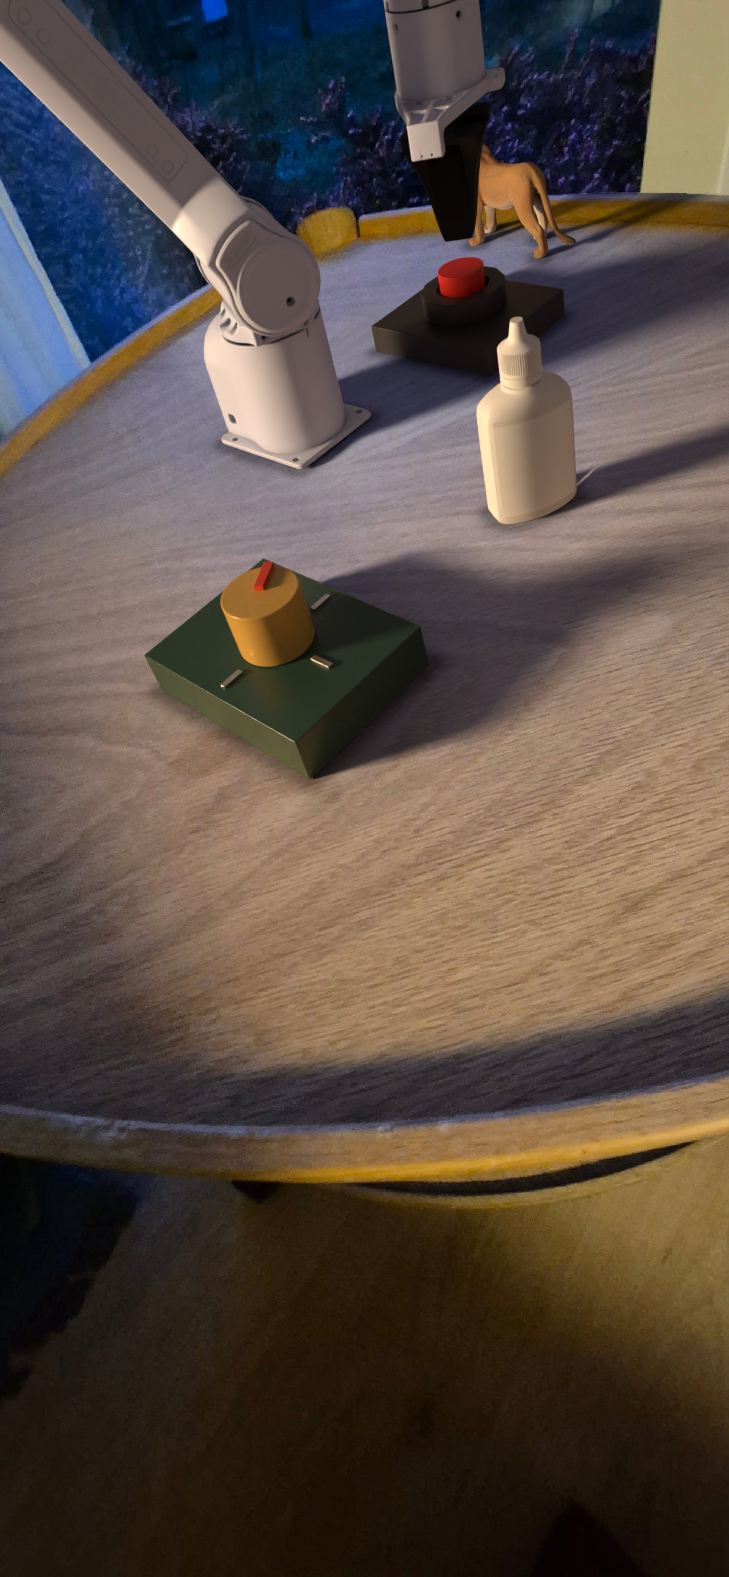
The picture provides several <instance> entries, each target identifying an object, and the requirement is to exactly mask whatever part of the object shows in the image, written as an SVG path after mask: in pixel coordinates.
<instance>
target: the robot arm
mask: <svg viewBox="0 0 729 1577" xmlns="http://www.w3.org/2000/svg"><path fill="white" fill-rule="evenodd" d="M382 1H383V6H384V13H385V14H384V15H385V20H386V28H387V34H388V41H389V42H388V43H389V47H390V54H391V60H392V66H393V67H392V68H393V73H394V74H393V75H394V81H395V87H396V90H395V94H394V100H395V101H394V102H395V107H396V111H397V112H398V114H399V115H400V117H401V119H402V120H403V122H404V124H405V125H406V128H405V129H403V132H402V134H401V136H400V137H399V142H400V148H401V151H402V154H403V156H404V157H405V158H406V159H407V162H408V163H409V164H410V166H412V168H413V169H414V171H415V173H416V174H417V176H418V177H419V180H420V182H421V184H422V185H423V187H424V190H425V192H426V195H427V197H428V200H429V203H430V206H431V209H432V211H433V212H432V213H433V214H434V218H435V221H436V224H437V227H438V229H439V232H440V234H441V236H442V239H443V241H444V242H445V243H448V242H455V241H456V242H457V241H463V240H470V238H472V237H473V236H474V234H475V226H476V219H477V206H478V185H479V170H480V160H481V153H482V147H483V143H484V142H485V136H486V132H487V128H488V125H489V121H490V118H491V115H492V112H493V110H492V104H491V103H490V102H489V101H479V100H480V99H481V98H483V97H484V96H485V95H486V94H487V93H490V92H495V91H499V90H501V89H502V88H503V87H504V85H505V83H506V72H505V68H504V67H496V68H486V65H485V64H486V62H485V51H484V42H483V31H482V30H483V29H482V19H481V10H480V0H382ZM0 62H1V63H2V64H3V65H4V66H5V67H6V68H7V69H8V70H9V71H10V72H11V73H12V74H13V75H14V76H15V77H16V78H17V79H18V81H20V82H21V83H22V84H23V85H24V86H25V87H26V88H27V89H28V90H29V91H30V92H31V93H32V94H33V95H34V96H35V97H36V98H37V99H39V101H40V102H41V103H42V104H43V105H44V106H45V107H46V108H47V109H48V110H49V111H50V112H52V114H53V115H55V116H56V117H57V119H58V120H59V121H60V122H61V123H62V124H64V126H66V127H67V129H69V130H70V131H71V132H72V134H74V135H75V136H76V138H77V139H79V140H80V142H82V143H83V145H85V146H86V148H88V149H89V150H90V152H92V153H93V154H94V155H95V156H96V158H98V159H99V160H100V161H101V162H102V164H104V165H105V166H106V167H107V168H108V169H109V170H110V171H111V172H112V173H113V174H114V175H115V176H116V177H117V178H118V180H120V181H121V182H122V183H123V184H124V185H125V186H126V187H127V188H128V189H129V190H130V191H131V193H133V194H134V195H135V196H136V197H137V198H138V199H139V200H140V201H141V202H142V203H143V204H145V206H146V207H147V208H148V209H149V210H150V211H152V212H153V214H155V216H156V217H158V218H159V219H160V220H161V222H162V223H164V224H165V225H166V226H167V228H168V229H169V230H171V232H173V234H174V235H175V236H176V237H177V238H178V239H179V240H180V241H181V242H182V243H183V244H184V245H185V246H186V248H188V249H189V251H190V252H191V253H192V254H193V256H194V259H195V262H196V265H197V267H198V270H199V271H200V273H201V275H202V277H203V278H204V280H205V281H206V283H208V284H209V285H210V286H211V288H212V289H214V290H215V291H217V293H219V295H220V296H221V298H222V301H221V304H220V311H219V312H218V313H217V314H216V316H215V317H213V319H212V320H211V322H210V324H209V325H208V327H207V329H206V331H205V337H204V340H203V341H204V342H203V358H204V364H205V367H206V371H207V373H208V376H209V379H210V382H211V384H212V388H213V391H214V393H215V397H216V399H217V402H218V404H219V407H220V410H221V413H222V416H223V420H224V422H225V426H226V428H227V432H226V433H224V434H223V435H222V436H221V442H222V444H224V445H226V446H230V447H231V448H235V449H238V450H241V451H244V452H247V453H249V454H253V455H255V456H259V457H261V458H264V459H267V460H271V461H273V462H276V463H280V464H281V465H285V466H288V467H291V468H293V469H297V470H304V469H306V468H308V467H309V466H310V465H311V464H313V463H314V462H315V461H317V460H318V459H320V458H321V457H322V456H323V455H325V453H327V452H328V451H330V449H331V450H332V448H333V447H335V446H336V445H337V444H338V443H340V442H341V441H343V440H344V439H345V438H346V437H347V436H349V435H350V434H351V433H353V432H354V431H356V429H358V428H359V427H360V426H361V425H363V424H364V423H365V422H367V421H369V419H371V417H372V414H371V410H369V409H367V408H363V407H361V406H360V407H359V406H356V405H352V404H348V403H344V401H343V396H342V392H341V389H340V384H339V380H338V375H337V372H336V367H335V363H334V360H333V355H332V350H331V346H330V343H329V339H328V335H327V329H326V327H325V326H326V325H325V321H324V318H323V313H322V309H321V305H320V300H319V297H320V293H321V282H322V281H321V271H320V267H319V262H318V261H317V258H316V255H315V254H314V251H312V249H311V247H310V246H309V245H308V244H307V243H306V241H304V240H303V239H302V238H300V237H299V236H298V235H297V234H294V233H292V232H290V231H289V230H287V229H286V228H285V227H284V226H283V225H282V224H281V223H280V222H279V221H277V220H276V219H275V217H274V216H273V214H272V213H270V211H269V210H268V209H267V208H266V207H265V206H264V205H263V204H261V203H260V202H258V201H257V200H255V199H253V198H250V197H246V196H244V195H240V193H238V192H237V191H236V190H235V189H234V187H232V186H231V185H230V184H229V182H228V181H227V180H226V179H225V178H224V177H223V176H222V175H221V174H220V173H219V172H218V171H217V170H216V169H215V168H214V167H213V165H212V164H211V163H210V162H209V161H208V160H207V159H206V158H205V156H204V155H203V154H202V153H201V152H200V151H199V150H198V149H197V148H196V147H195V146H194V145H193V143H192V142H190V141H189V139H188V138H187V137H186V136H185V135H184V134H183V132H182V131H180V129H179V128H178V127H177V126H176V125H175V124H174V123H173V121H172V120H170V118H169V117H168V116H167V115H166V114H165V113H164V112H163V111H162V110H161V109H160V107H158V105H157V104H156V103H155V102H154V101H153V100H152V99H151V98H150V96H149V95H147V93H146V92H145V91H144V90H143V89H142V88H141V87H140V85H139V84H138V83H137V82H136V81H135V80H134V79H133V77H131V75H130V74H128V73H127V71H126V70H125V69H124V68H123V67H122V66H121V64H120V63H118V62H117V60H116V59H115V58H114V57H113V55H111V54H110V53H109V51H108V50H107V49H106V48H105V47H104V46H103V45H102V44H101V43H100V41H98V40H97V38H96V37H94V35H93V34H92V33H91V32H90V31H89V29H87V28H86V26H85V25H84V24H83V23H82V22H81V21H80V20H79V19H78V18H77V16H75V14H73V12H72V11H71V10H70V9H69V8H68V7H67V6H66V5H65V4H64V3H63V1H62V0H0ZM477 101H479V102H477Z"/></svg>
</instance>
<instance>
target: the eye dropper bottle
mask: <svg viewBox="0 0 729 1577" xmlns="http://www.w3.org/2000/svg"><path fill="white" fill-rule="evenodd" d="M541 346H542V345H541V340H540V338H539V337H538V338H537V337H536V336H534V335H531V334H527V332H526V329H525V325H524V322H523V318H522V317H514V318H512V319H511V320H510V326H509V335H508V338H506V339H504V340H503V341H502V342H501V343H500V344H499V345H498V347H497V354H498V363H499V370H498V371H499V373H498V374H499V381H500V382H499V383H497V384H496V385H495V386H494V387H493V388H492V389H490V390H489V391H488V392H487V393H486V394H485V395H484V396H483V397H481V398H482V399H481V400H480V401H479V402H478V404H477V407H476V423H477V432H478V440H479V448H480V457H481V464H482V471H483V480H484V488H485V495H486V503H487V508H488V511H489V512H490V514H492V516H493V517H494V518H495V519H496V520H497V522H499V523H500V524H501V525H502V524H503V525H513V524H520V523H524V522H529V521H532V520H537V519H539V518H542V517H545V516H547V515H549V514H551V513H554V512H556V511H557V510H559V509H561V508H562V507H564V506H565V505H566V504H568V503H570V502H571V501H572V500H573V499H574V497H575V496H576V494H577V490H578V489H577V488H578V486H577V485H578V484H577V463H576V461H577V460H576V444H575V443H576V442H575V424H574V423H575V422H574V406H573V394H572V390H571V386H570V385H569V383H568V382H567V381H566V380H565V378H563V377H562V376H561V375H559V374H557V373H555V372H553V371H552V372H551V371H543V363H542V362H543V360H542V347H541Z"/></svg>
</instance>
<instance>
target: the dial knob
mask: <svg viewBox="0 0 729 1577" xmlns="http://www.w3.org/2000/svg"><path fill="white" fill-rule="evenodd" d="M274 563H275V562H274V561H271V562H264V563H263V566H262V567H259V568H255V569H252V570H250V569H249V570H250V571H248V570H247V571H245V572H243V573H241V574H239V575H238V576H237V577H235V578H233V579H232V580H231V581H230V582H229V583H228V584H227V585H226V587H225V588H224V589H223V590H222V591H223V593H222V596H221V608H222V610H223V612H224V615H225V617H226V620H227V622H228V624H229V627H230V629H231V631H232V634H233V636H234V639H235V641H236V643H237V646H238V648H239V651H240V653H241V655H242V657H243V658H244V659H245V660H246V661H247V662H249V663H251V664H253V665H256V666H261V667H272V666H278V665H282V664H285V663H288V662H290V661H292V660H294V659H296V658H298V657H299V656H301V655H302V654H303V653H304V652H305V651H306V650H307V649H308V648H309V647H310V645H311V644H312V642H313V640H314V636H315V628H314V625H313V622H312V619H311V616H310V613H309V610H308V607H307V604H306V601H305V598H304V595H303V592H302V588H301V585H300V582H299V579H298V577H297V576H296V575H295V573H294V572H295V571H294V572H292V571H293V570H292V569H290V568H287V567H285V566H283V567H280V566H281V565H280V566H275V565H274ZM284 567H285V568H284ZM289 569H290V570H289ZM291 570H292V571H291Z"/></svg>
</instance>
